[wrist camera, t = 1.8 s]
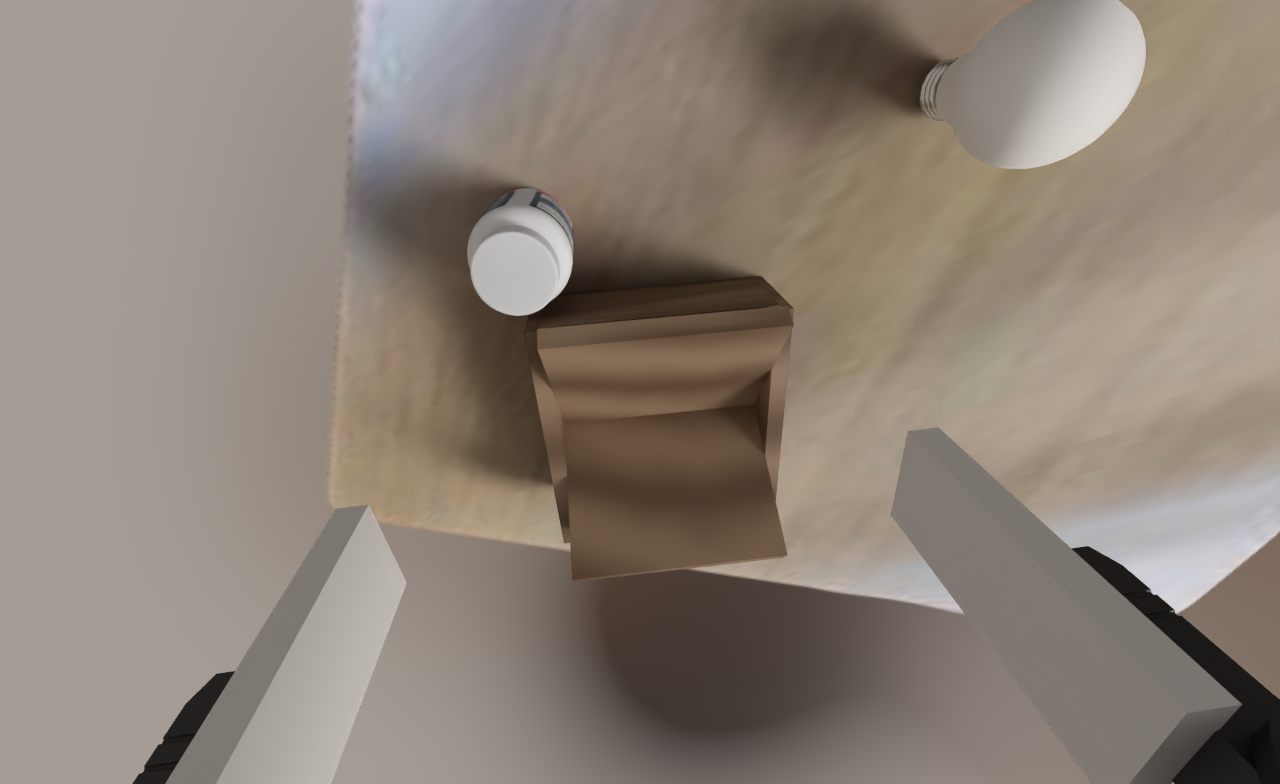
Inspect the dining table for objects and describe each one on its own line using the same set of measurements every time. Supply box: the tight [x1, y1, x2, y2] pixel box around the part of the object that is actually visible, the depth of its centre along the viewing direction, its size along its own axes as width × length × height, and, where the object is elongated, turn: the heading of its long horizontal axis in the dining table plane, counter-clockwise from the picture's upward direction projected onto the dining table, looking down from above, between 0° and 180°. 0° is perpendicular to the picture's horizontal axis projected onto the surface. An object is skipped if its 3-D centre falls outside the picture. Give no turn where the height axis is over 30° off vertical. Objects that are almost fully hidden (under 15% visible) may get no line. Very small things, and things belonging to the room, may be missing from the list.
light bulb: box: [919, 0, 1146, 169], centre depth 24 cm, size 7×7×11 cm
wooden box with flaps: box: [524, 277, 794, 582], centre depth 32 cm, size 17×15×11 cm
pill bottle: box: [467, 188, 574, 316], centre depth 27 cm, size 5×5×9 cm
